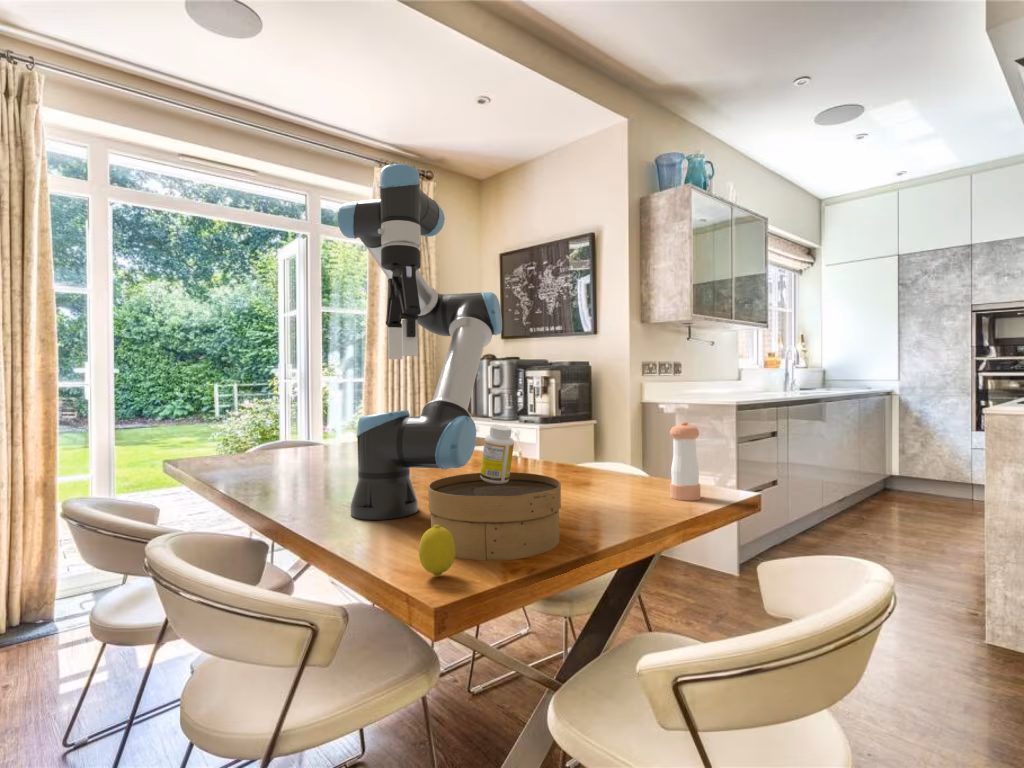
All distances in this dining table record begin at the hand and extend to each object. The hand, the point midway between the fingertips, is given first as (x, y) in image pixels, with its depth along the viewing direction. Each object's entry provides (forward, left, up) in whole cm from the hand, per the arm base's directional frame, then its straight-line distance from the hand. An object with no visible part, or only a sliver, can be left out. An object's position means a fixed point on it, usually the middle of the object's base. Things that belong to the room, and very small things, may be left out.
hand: (402, 357), depth 105 cm
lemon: (+24, 0, -35) cm, 42 cm away
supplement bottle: (+9, +15, -24) cm, 30 cm away
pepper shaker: (-4, +72, -35) cm, 80 cm away
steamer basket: (+9, +15, -35) cm, 39 cm away
